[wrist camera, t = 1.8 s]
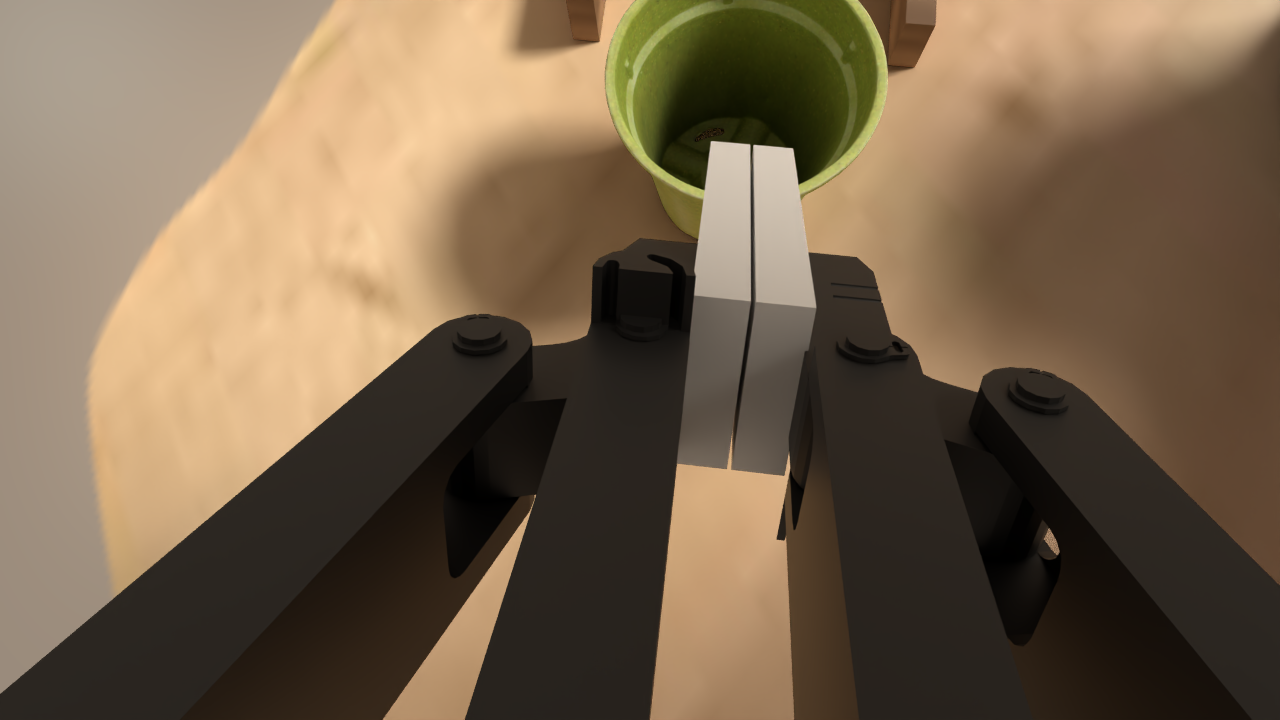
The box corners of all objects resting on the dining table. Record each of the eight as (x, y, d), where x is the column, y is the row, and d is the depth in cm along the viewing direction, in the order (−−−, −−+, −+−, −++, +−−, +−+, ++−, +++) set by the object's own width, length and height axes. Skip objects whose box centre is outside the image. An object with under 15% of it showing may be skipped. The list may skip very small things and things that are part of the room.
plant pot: (874, 239, 35) (937, 139, 27) (669, 320, 35) (667, 245, 26) (784, 58, 37) (816, -87, 29) (589, 132, 37) (564, 7, 29)
